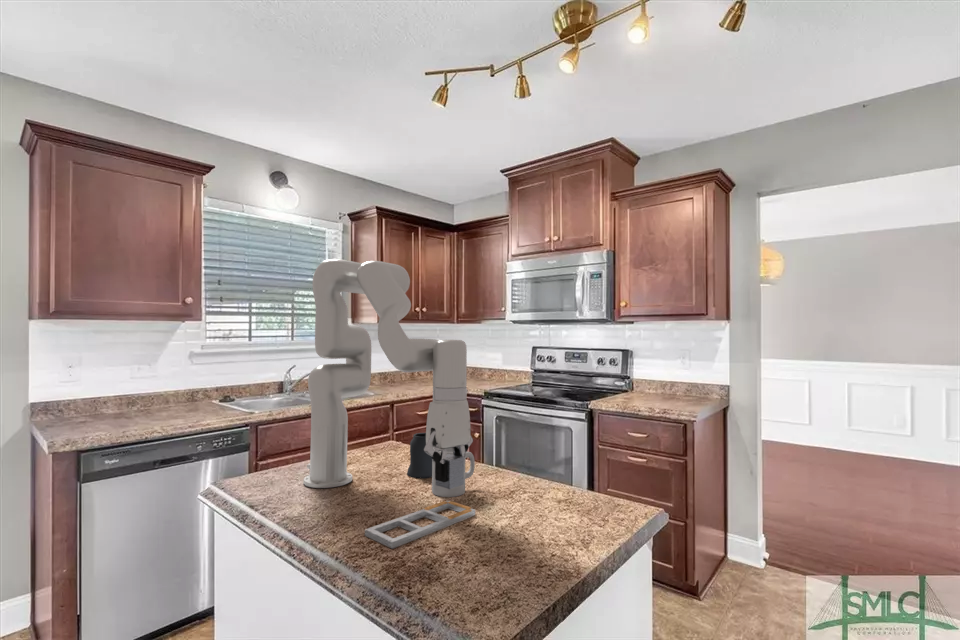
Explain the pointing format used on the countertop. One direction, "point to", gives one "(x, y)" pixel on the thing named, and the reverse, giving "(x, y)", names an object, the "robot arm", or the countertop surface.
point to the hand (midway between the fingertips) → (449, 477)
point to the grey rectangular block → (453, 472)
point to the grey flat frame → (414, 529)
